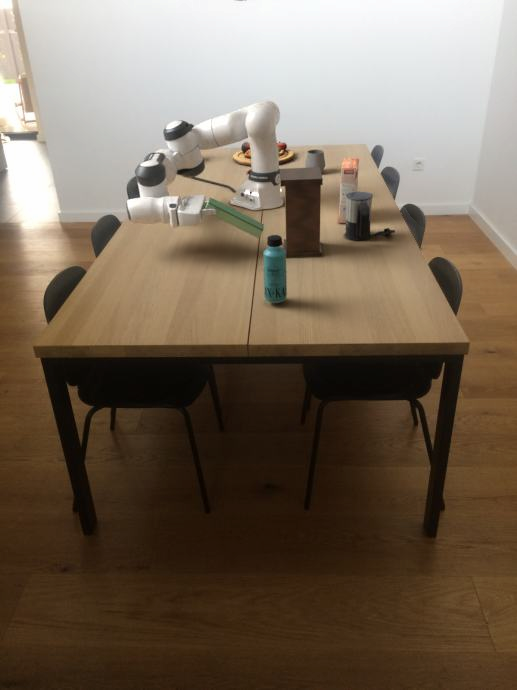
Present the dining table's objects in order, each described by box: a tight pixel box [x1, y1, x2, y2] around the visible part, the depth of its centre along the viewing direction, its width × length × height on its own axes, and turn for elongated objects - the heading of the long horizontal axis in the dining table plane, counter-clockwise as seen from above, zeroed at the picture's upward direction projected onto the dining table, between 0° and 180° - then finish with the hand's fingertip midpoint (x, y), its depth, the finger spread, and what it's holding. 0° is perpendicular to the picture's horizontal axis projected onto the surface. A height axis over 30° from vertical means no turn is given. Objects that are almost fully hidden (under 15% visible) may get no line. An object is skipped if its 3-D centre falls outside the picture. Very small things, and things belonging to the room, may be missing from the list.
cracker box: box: [338, 157, 360, 224], centre depth 215 cm, size 14×6×21 cm, turn 168°
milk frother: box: [344, 190, 396, 241], centre depth 200 cm, size 14×16×15 cm
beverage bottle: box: [262, 234, 288, 304], centre depth 160 cm, size 6×7×20 cm
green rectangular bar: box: [205, 196, 265, 239], centre depth 191 cm, size 20×5×4 cm, turn 89°
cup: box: [305, 149, 326, 174], centre depth 271 cm, size 10×9×10 cm
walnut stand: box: [280, 167, 324, 259], centre depth 190 cm, size 13×13×26 cm
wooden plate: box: [232, 141, 295, 167], centre depth 298 cm, size 32×32×8 cm
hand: (217, 208), depth 189 cm, fingers closed on green rectangular bar, 4 cm apart
